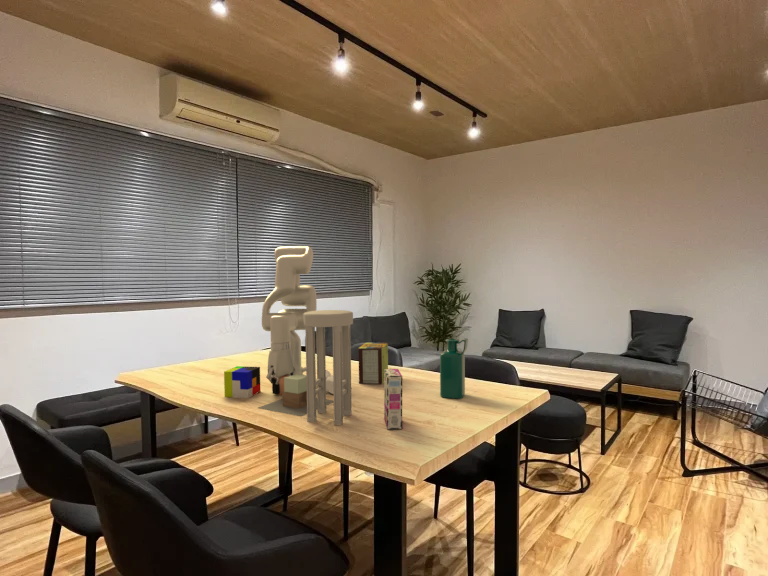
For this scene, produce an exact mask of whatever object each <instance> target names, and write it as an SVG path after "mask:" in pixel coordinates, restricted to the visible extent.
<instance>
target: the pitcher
mask: <svg viewBox="0 0 768 576" xmlns="http://www.w3.org/2000/svg"><path fill="white" fill-rule="evenodd" d="M444 341H445V342H447V349H445V350H444V351H442V352H441V353H440V355H439V388H440V389H439V390H440V391H439V393H440V397H441V398H444V399H455V400H460V399H462V398H463V397H465V394H466V376H465V375H466V371H465V370H466V368H465V367H466V365H465V364H466V358H465V357H466V356H465V355H466V354H465V352H466V351H467V349H468V344H469V343H468V342H469V339H468V338H467V337H466V338H463V339H462V340H460V339H458V338H446V339H445V340H444ZM462 342H464V343H463V350H459V349H458V344H461V343H462Z"/></svg>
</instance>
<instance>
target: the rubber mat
mask: <svg viewBox="0 0 768 576" xmlns="http://www.w3.org/2000/svg"><path fill="white" fill-rule="evenodd" d="M331 404H334V399H333V400H331V399H327V398H326V407H327V406H329V405H331ZM257 409H259V410H260V409H261V410H265V411H271V412H275V413H281V414H285V415H292V416H296V417H303V416H305V415H306V416H307V406H304V407H302V408H299V409H298V408H292V407H287V406H283V398H281V399H278V400H276V401H273V402H270V403H266V404H264V405H262V406H259V407H257ZM316 411H318V402H317V397H316Z"/></svg>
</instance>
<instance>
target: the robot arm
mask: <svg viewBox="0 0 768 576" xmlns="http://www.w3.org/2000/svg"><path fill="white" fill-rule="evenodd" d="M274 260H275V275H274V276H275V277H274V278H275V281H274V289H273V290H272V291H271V292H270V293H269V294H268V296H267V297H266V299H265V300H264V302H263V304H262V310H261V311H262V312H261V327H262V329H263V330H264V331H266V332H270V350H269V353H268V358H267V374H266V375H265V376H266V379H267V380H269V382H270V384H271V386H272V389H271V390H272V392H271V393H272V394H273V395H275V394H279V393H280V388H279V384H278V382H279V377H280V376H283V375H288V376H292V375H295V374H299V375H304V372H305V373H306V366H305V367H302V339H301V338H300V336H299V334H298V333H297V332H296V331H305V325H304V313H305V312H309V311H317V292H316V288H315V287H314V286H313V285H310V284H307V285H305V284H304V285H301V276H300V275H307V274H310V272H311V269H312V265H313V261H314V250H313V248H312V247H311V246H308V245H284V246H282V245H281V246H278V247H276V248H275V250H274ZM279 300H280V303H281V305H283V306H285V307H305V308H284V309H280V310H279V311H278V312H271V308H272V306H273V305H275V303H277V302H278V301H279ZM275 377H276V380H275Z"/></svg>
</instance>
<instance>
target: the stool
mask: <svg viewBox="0 0 768 576" xmlns="http://www.w3.org/2000/svg"><path fill="white" fill-rule="evenodd" d="M304 325H305V330H304V331H305V367H306V371H305V375H306V384H307V414H306V421H307V422H309V423H315V422H316V421H317V414H325V413H326V412H327V406H326V399H327V392H326V370H327V369H326V363H327V362H326V328H331V327H332V328H331V329H332V370H333V371H332V374H333V387H334V394H333V401H334V403H333V425H335V426H338V425H339V426H342V425H343V424H344V416H345V417H346V416H347V417H351V415H352V412H353V411H352V406H353V405H352V404H353V403H352V389H351V388H352V349H351V347H352V346H351V342H352V341H351V325H354V313H353V312H352V311H351V310H346V309H345V310H344V309H339V310H338V309H326V310H325V309H324V310H323V309H321V310H320V309H319V310H316V311H309V312H305V313H304ZM316 398H317V402H318V409H317V410H316Z"/></svg>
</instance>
